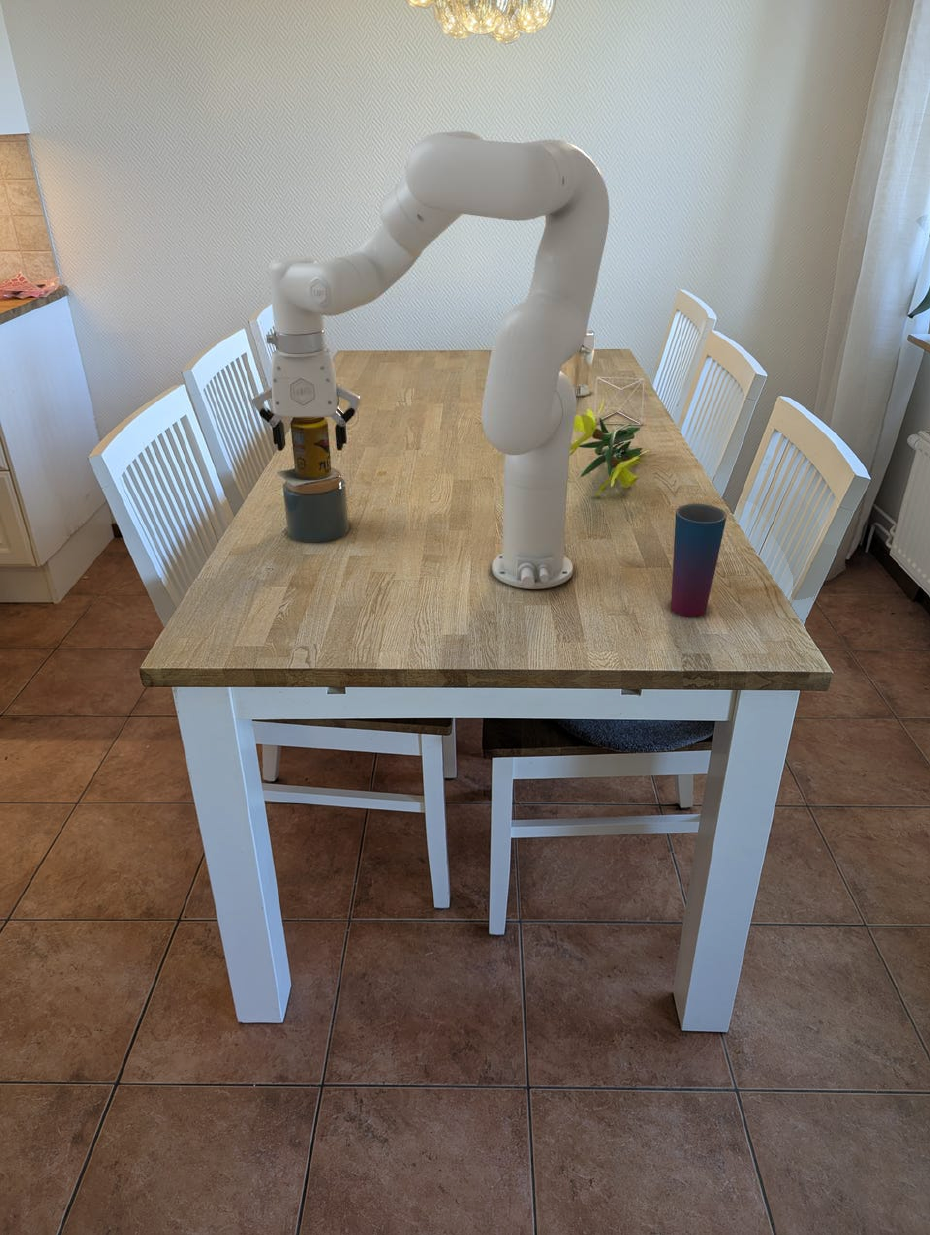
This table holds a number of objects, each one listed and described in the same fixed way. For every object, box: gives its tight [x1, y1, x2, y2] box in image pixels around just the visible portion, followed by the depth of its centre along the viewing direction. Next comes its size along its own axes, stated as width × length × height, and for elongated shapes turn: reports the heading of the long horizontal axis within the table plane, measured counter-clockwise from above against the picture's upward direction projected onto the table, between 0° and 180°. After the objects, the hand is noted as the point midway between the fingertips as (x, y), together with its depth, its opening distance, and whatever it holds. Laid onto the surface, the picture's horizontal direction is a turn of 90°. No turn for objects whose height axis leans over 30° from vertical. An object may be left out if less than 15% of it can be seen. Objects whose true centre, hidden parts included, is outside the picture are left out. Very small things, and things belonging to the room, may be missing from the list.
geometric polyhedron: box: [593, 376, 646, 426], centre depth 208 cm, size 12×11×9 cm
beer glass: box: [565, 329, 595, 397], centre depth 226 cm, size 7×7×15 cm
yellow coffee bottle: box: [275, 417, 342, 486], centre depth 150 cm, size 7×8×12 cm
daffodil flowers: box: [570, 397, 654, 498], centre depth 174 cm, size 17×15×35 cm
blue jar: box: [282, 466, 349, 544], centre depth 155 cm, size 10×10×10 cm
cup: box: [670, 503, 728, 618], centre depth 129 cm, size 7×7×15 cm
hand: (311, 448), depth 151 cm, fingers open, 9 cm apart
